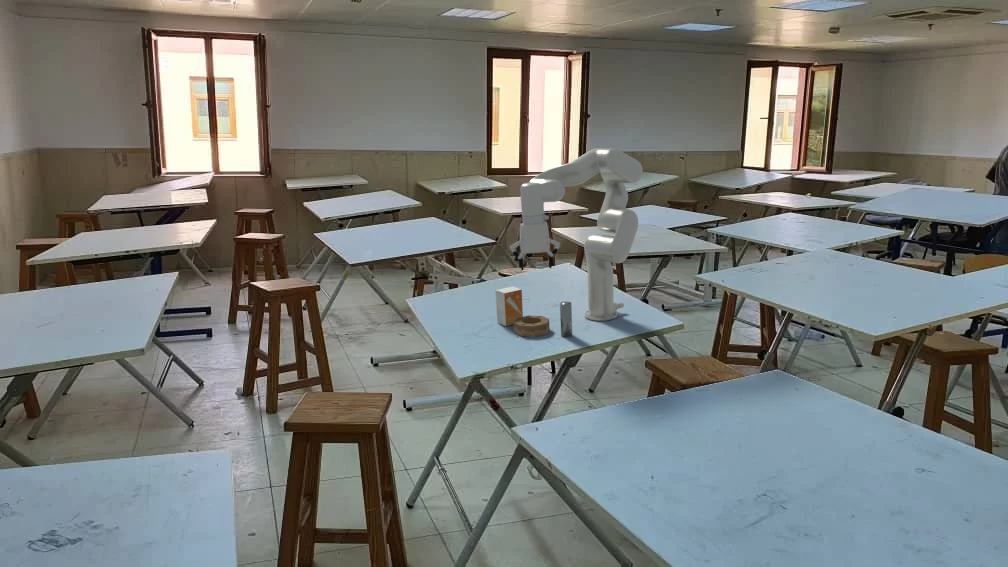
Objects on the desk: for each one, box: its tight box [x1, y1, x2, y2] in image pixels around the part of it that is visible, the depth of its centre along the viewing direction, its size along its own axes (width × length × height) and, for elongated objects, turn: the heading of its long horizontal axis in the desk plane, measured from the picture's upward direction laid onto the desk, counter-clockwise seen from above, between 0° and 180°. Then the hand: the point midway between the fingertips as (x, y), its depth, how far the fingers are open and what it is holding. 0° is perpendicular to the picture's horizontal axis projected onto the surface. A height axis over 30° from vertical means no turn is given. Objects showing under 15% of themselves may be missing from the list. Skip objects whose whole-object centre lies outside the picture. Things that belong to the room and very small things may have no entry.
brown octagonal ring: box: [513, 315, 550, 338], centre depth 256 cm, size 12×12×4 cm
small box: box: [495, 286, 524, 327], centre depth 267 cm, size 8×6×13 cm
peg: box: [559, 301, 573, 338], centre depth 248 cm, size 4×4×12 cm
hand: (536, 268), depth 243 cm, fingers open, 9 cm apart
